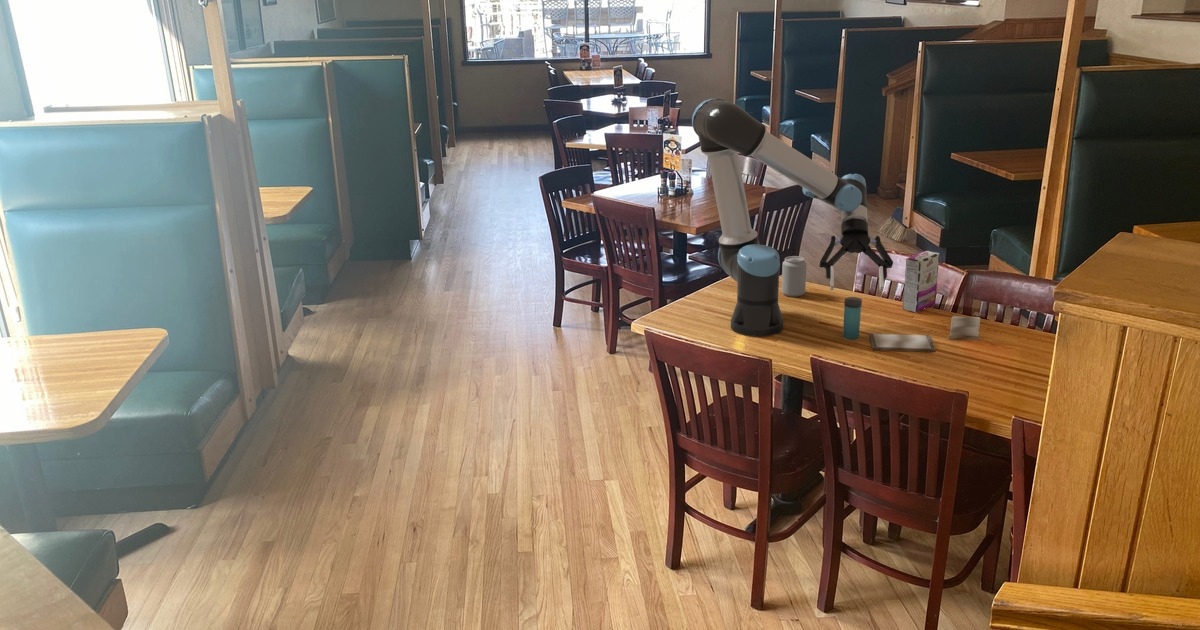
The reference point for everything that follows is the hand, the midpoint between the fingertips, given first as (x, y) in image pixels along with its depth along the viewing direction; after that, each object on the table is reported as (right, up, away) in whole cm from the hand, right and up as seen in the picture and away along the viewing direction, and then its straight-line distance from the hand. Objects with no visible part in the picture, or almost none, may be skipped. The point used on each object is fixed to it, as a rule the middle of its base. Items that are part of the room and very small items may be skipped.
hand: (856, 288), depth 247 cm
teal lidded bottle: (-3, -14, -3) cm, 14 cm away
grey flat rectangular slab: (+9, -15, -9) cm, 20 cm away
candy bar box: (+24, -5, +18) cm, 30 cm away
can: (-11, -1, +34) cm, 35 cm away
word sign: (+27, -14, -8) cm, 32 cm away
